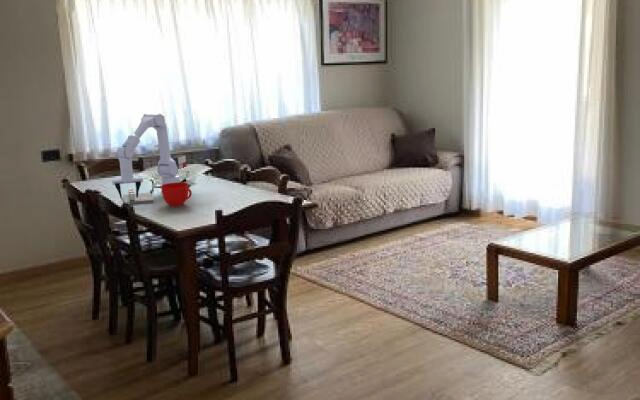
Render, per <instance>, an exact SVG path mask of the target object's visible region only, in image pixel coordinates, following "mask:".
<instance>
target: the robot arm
mask: <svg viewBox="0 0 640 400" xmlns="http://www.w3.org/2000/svg"><path fill="white" fill-rule="evenodd" d="M150 128H153V129H154V130H155V131H156V136H157V137H156V138H157V144H158V150H159V151H158V152H159V157H160V159H159V161H158V162H157V173H158V175H160V177H161V186H162V185H164V184H168V183H181V182H180V180H179V176H176V174H177V172H178V167H177V165H176V162H175V161H174V160H173V159H172V156H171V155H172V154H171V148H170V141H169V134H168V126H167V123H166V119H165V115H163V114H162V113H148V112H146V113H144V114H143V115H142V117H140V123H139V124H138V126H137V128H136V130H135V131H134V133H133V134H130V135H128V136H127V139H126V140H125V141H124V143H123V144H122V146H119V147H118V148H117V150H116V152H115V155H116V157H117V158H118V162H119V169H120V179H112V181H111V183H112V185H113V186H114V187H115V188H116V190H117V192H118V195H119V198H120V199H121V200H122V199H123V194H122V191H121V189H122V188H121V185H122V184H135V194H136V197H138V193H139V191H140V188H141V185H142V183H144V178H143V177H135V178H134V172H133V159H132V158H133V157H134V154H135V150H136V148H137V146H138V145H139V143H141V141H140V138H142V136H143V135H144V133H145V132H146V131H147V130H148V129H150ZM161 193H162V190H161Z"/></svg>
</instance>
